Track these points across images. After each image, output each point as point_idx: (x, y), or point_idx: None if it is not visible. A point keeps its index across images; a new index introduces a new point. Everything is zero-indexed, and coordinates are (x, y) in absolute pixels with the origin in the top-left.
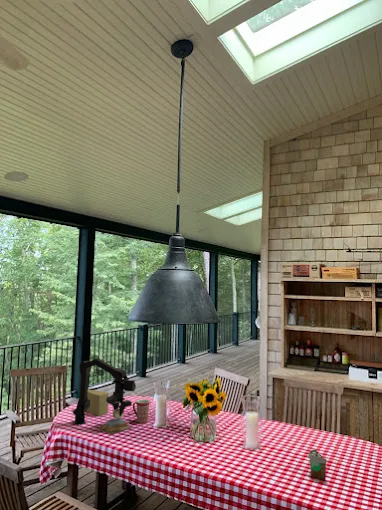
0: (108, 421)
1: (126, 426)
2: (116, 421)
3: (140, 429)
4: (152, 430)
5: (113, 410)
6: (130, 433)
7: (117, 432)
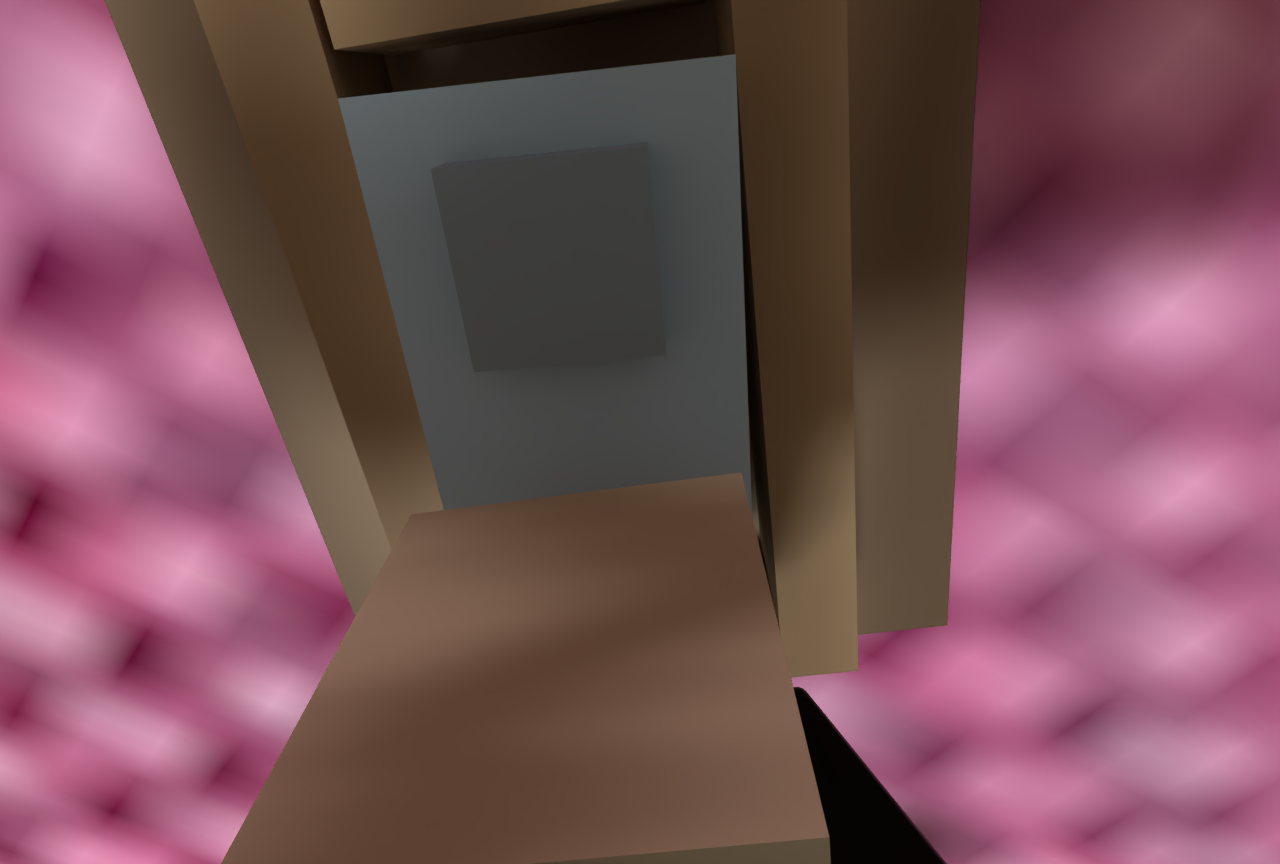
0: (609, 105)
1: None
2: (428, 431)
3: (212, 745)
4: (57, 855)
5: (738, 797)
6: (18, 467)
7: (206, 211)
